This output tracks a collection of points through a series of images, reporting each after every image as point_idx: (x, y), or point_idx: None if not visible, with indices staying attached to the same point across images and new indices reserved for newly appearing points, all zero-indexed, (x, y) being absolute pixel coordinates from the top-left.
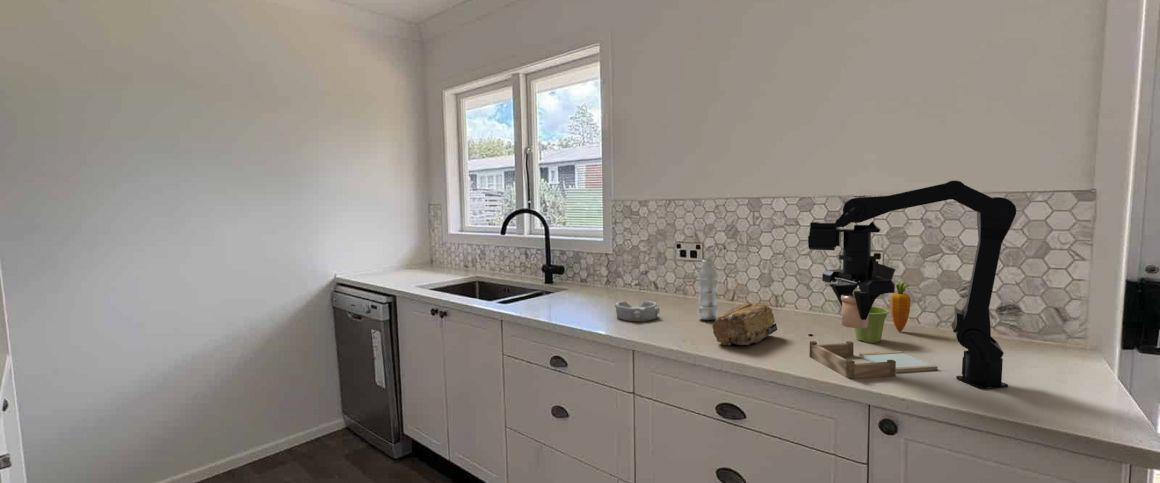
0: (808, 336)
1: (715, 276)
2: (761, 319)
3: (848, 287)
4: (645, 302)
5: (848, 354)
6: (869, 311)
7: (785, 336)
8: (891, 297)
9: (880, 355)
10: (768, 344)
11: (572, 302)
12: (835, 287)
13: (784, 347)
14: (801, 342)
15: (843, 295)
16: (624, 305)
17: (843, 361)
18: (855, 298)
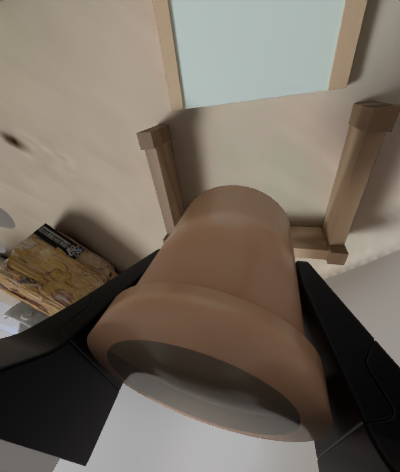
0: (28, 152)
1: None
2: (75, 289)
3: (41, 416)
4: (6, 317)
5: (169, 141)
6: (341, 302)
7: (50, 201)
8: None
9: (184, 30)
10: (112, 251)
11: (14, 331)
12: (91, 447)
13: (124, 237)
14: (82, 192)
15: (163, 402)
16: (25, 328)
17: (312, 256)
18: (321, 468)
